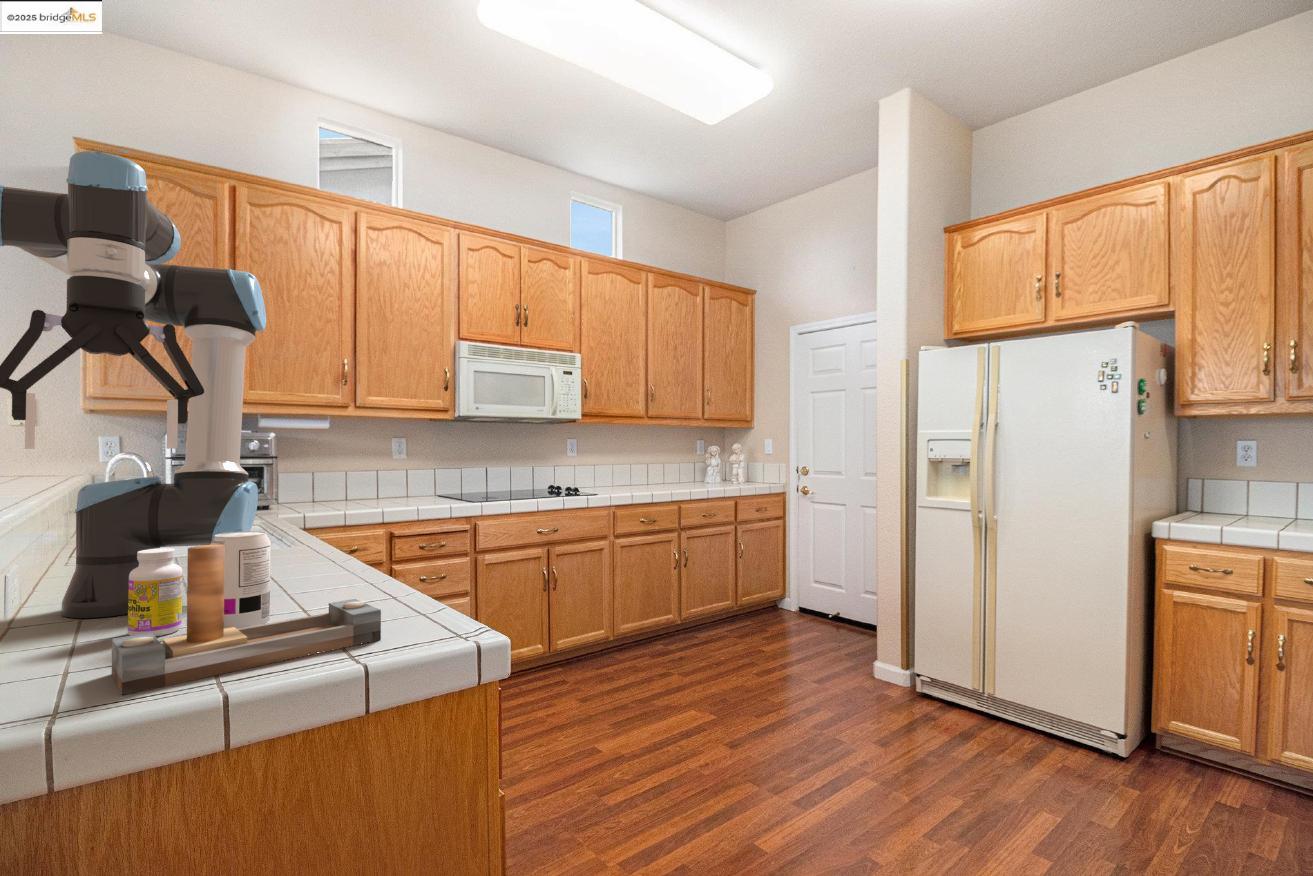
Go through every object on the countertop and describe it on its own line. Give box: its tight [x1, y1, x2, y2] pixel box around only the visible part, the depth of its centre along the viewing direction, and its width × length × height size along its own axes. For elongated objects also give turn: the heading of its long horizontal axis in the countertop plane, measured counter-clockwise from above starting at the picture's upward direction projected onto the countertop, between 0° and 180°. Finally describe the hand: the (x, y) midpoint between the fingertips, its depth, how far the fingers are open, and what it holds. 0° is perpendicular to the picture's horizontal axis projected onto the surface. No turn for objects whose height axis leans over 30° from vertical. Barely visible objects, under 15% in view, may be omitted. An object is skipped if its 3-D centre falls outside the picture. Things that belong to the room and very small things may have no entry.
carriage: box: [162, 545, 247, 659], centre depth 85 cm, size 7×8×14 cm
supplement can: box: [210, 530, 271, 629], centre depth 103 cm, size 8×8×15 cm
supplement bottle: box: [127, 547, 183, 638], centre depth 100 cm, size 7×7×13 cm
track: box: [111, 598, 382, 695], centre depth 89 cm, size 10×30×5 cm, turn 136°
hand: (105, 449), depth 81 cm, fingers open, 13 cm apart
